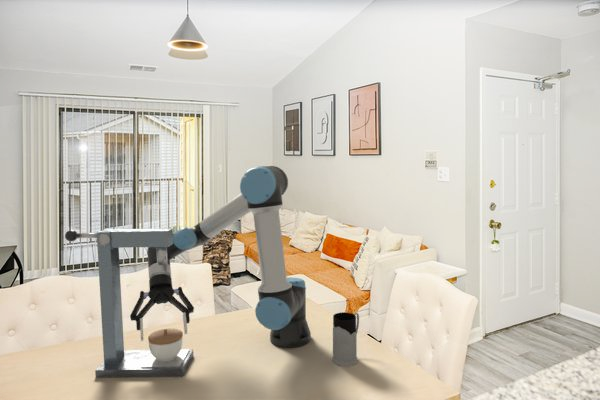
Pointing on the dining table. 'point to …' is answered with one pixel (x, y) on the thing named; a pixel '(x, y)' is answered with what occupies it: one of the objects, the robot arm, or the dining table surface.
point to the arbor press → (111, 305)
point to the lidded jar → (165, 344)
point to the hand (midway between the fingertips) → (164, 335)
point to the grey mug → (345, 339)
